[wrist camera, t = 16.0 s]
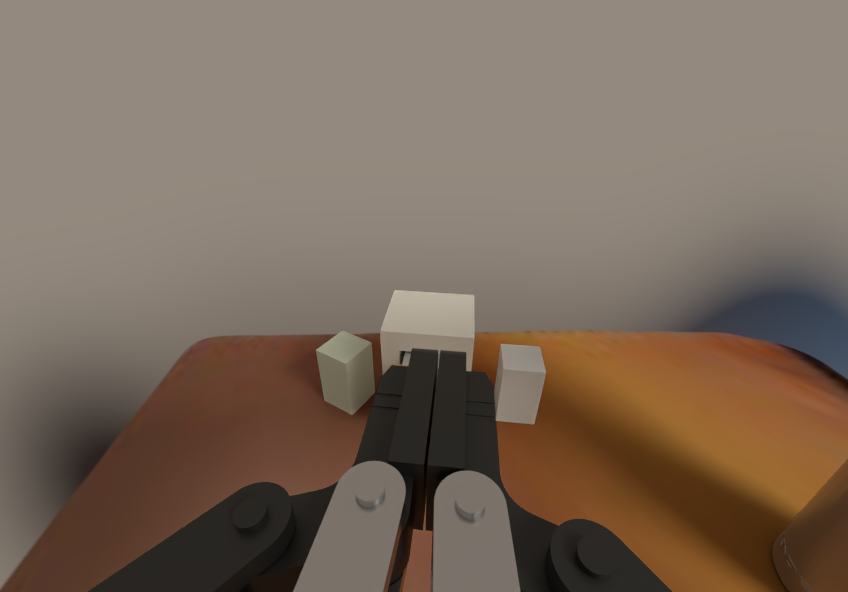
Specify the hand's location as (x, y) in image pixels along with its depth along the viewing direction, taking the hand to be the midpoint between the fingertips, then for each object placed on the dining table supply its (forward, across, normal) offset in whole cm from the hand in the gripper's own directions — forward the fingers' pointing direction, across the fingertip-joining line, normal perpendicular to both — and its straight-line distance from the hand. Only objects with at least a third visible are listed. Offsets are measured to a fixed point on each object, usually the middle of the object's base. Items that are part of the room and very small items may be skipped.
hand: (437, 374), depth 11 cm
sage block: (+26, +12, +28) cm, 40 cm away
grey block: (+26, -8, +28) cm, 39 cm away
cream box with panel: (+25, +2, +28) cm, 37 cm away
